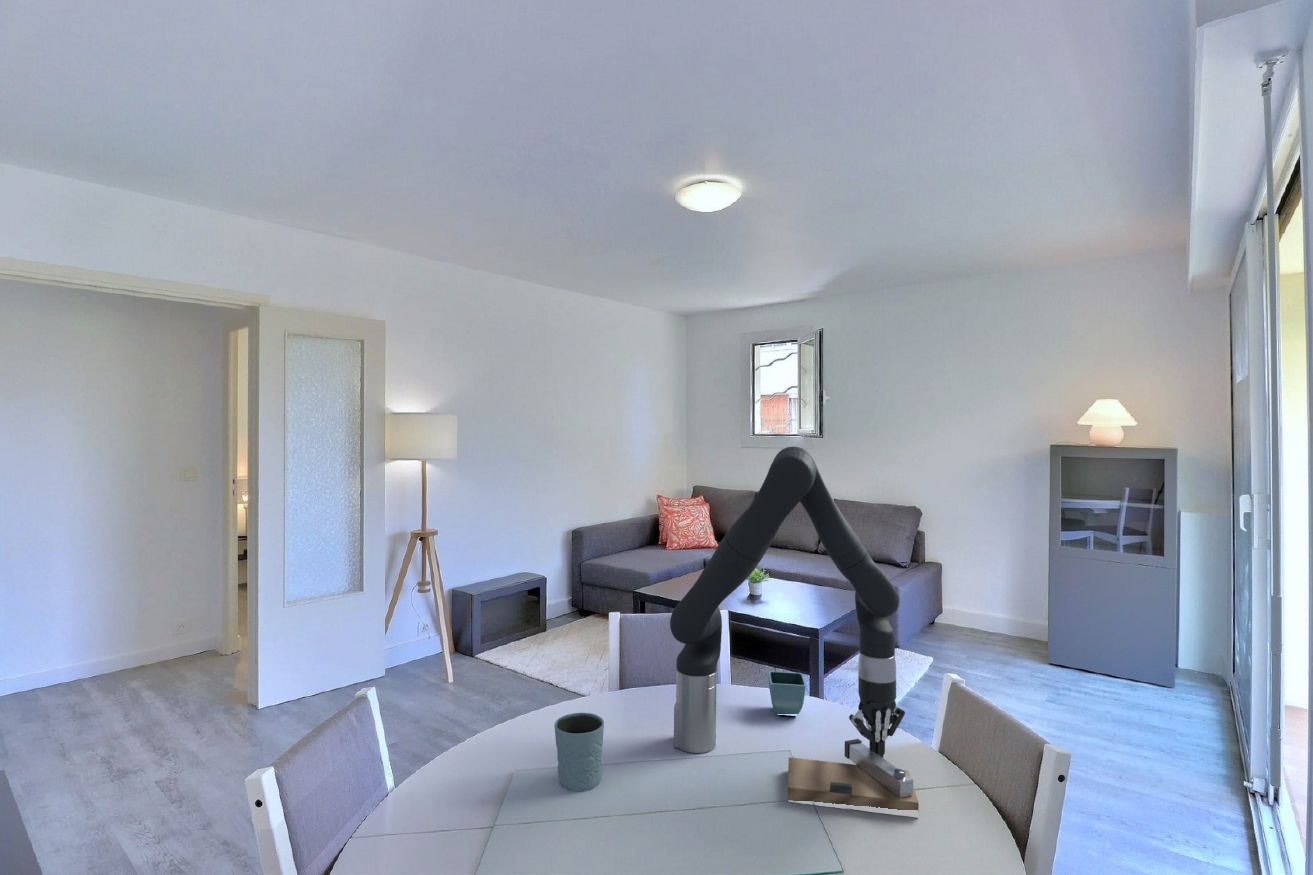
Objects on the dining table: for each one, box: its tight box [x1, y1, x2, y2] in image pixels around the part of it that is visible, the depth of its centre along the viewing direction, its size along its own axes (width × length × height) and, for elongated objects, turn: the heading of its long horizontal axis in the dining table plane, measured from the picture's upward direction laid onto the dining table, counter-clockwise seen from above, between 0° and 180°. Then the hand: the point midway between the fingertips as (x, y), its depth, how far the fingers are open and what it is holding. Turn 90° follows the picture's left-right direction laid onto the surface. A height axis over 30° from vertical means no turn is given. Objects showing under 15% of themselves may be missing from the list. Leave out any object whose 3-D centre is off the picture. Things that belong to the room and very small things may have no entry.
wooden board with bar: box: [787, 757, 920, 811], centre depth 134 cm, size 24×12×4 cm, turn 78°
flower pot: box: [768, 670, 807, 715], centre depth 171 cm, size 9×9×9 cm
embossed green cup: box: [554, 712, 605, 793], centre depth 138 cm, size 10×10×12 cm
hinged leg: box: [843, 738, 914, 798], centre depth 135 cm, size 17×3×4 cm, turn 20°
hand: (877, 756), depth 141 cm, fingers closed
